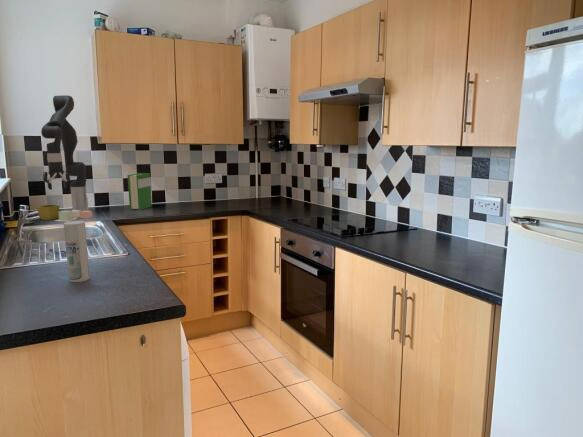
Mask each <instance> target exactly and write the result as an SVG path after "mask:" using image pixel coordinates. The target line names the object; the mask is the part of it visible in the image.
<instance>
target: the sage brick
mask: <svg viewBox="0 0 583 437" xmlns="http://www.w3.org/2000/svg"><path fill="white" fill-rule="evenodd" d="M58 213H59V215H58V219H59V220H70V219H72V211H71V210H59V212H58Z"/></svg>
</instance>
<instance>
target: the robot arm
mask: <svg viewBox="0 0 583 437" xmlns="http://www.w3.org/2000/svg"><path fill="white" fill-rule="evenodd" d="M52 103H53V108H54V111H55V112H54V113H53V114H52V115H51V116H50V119H49V121H48V122H46V123H45V124H44V125H43V126H42V128H41V131H40V132H41V135H42V137H43V138H44V139H54V141H52V142H48V143H47V144H46V153H47V155H46V156H47V158H46V159H47V167H48V171H43V172H42V176H43V177H42V179H43V180H42V181H43V183H46V184H47V188H48V190H53V185H52V181H53V180H54V179H56V180H57V179H60V180H62V182H63V185H62V186H63V188H64V189H67V187H68V181H70V180H71V177H76V179H75V180H74V181H73V180H72V181H71V182H70V183H69V184H70V185H69V186H70V196H71V198H70V199H71V206H72V210H81V211H90V210H89V200H88V195H87V168H86V164H85V163H84V162H81V161H74V152H75V150H76V148H77V145H78V134H77V131H76V129H75V128H74V127H73V125H72V124H71V123H70V122H69V120H67V117H68V116H69V115H70V114H71V112H72V111H73V110H74V108H75V100H74V98H73V97H72V96H71V95H66V94H65V95H54V96H53V97H52ZM61 143H62V148H63V150H62V151H63V155H64V164H65V165H64V164H63V157H62V151H61ZM64 166H65V170H64ZM64 174H65V176H64ZM48 176H49V177H48Z"/></svg>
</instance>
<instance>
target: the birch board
mask: <svg viewBox="0 0 583 437" xmlns="http://www.w3.org/2000/svg"><path fill="white" fill-rule="evenodd" d="M77 219H79V217H77V218H72V219H70V220H59V218H57V219H53V222H70V221H76V220H77Z"/></svg>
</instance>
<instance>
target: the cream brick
mask: <svg viewBox="0 0 583 437" xmlns="http://www.w3.org/2000/svg"><path fill="white" fill-rule="evenodd" d="M70 211H72V218H80V213H79V212H80V211H81V210H73V209H72V210H70Z"/></svg>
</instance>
